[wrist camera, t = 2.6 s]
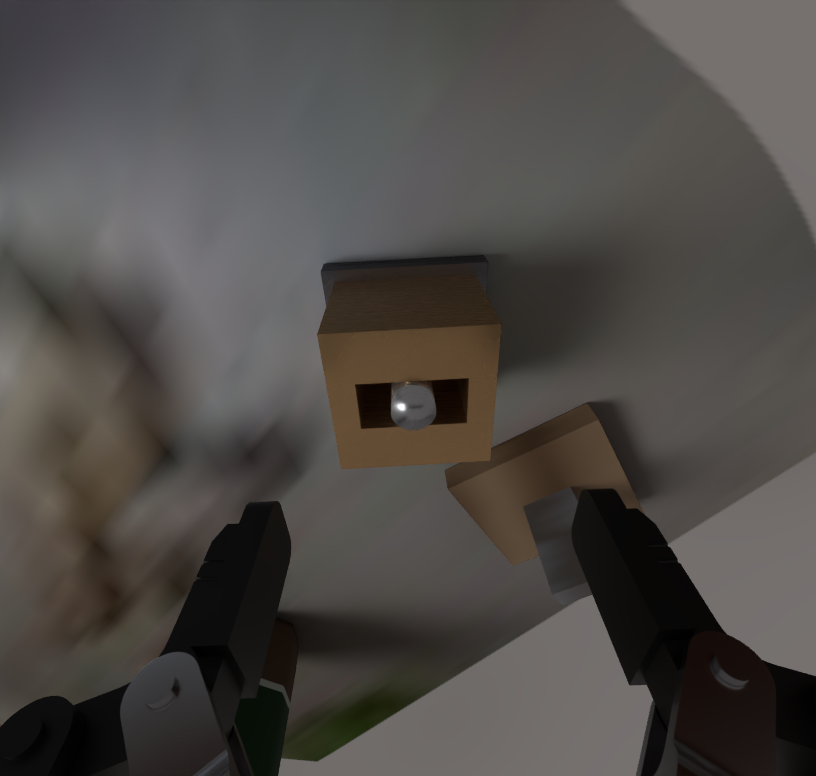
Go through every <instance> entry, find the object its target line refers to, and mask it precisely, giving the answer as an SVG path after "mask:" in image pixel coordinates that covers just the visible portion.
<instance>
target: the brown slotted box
mask: <svg viewBox="0 0 816 776" xmlns="http://www.w3.org/2000/svg"><path fill="white" fill-rule="evenodd" d="M501 328H502V324H501V322H500V320H499V318H498V316H497V314H496V312H495V310H494V308H493V306H492V305H491V303H490V301H489V299H488V297H487V295H486V293H485V291H484V289H483V287H482V286H481V284H480V282H479V280H478V278H477V276H476V275H458V276H440V277H421V278H403V279H385V280H367V281H349V282H334V285H333V288H332V291H331V294H330V297H329V300H328V303H327V306H326V309H325V312H324V315H323V318H322V321H321V324H320V327H319V330H318V333H317V336H318V342H319V347H320V353H321V359H322V364H323V370H324V375H325V381H326V386H327V392H328V397H329V403H330V408H331V414H332V419H333V425H334V431H335V436H336V442H337V447H338V453H339V458H340V464H341V469H353V468H371V467H388V466H406V465H423V464H441V463H458V462H476V461H490V456H491V444H492V433H493V421H494V409H495V398H496V386H497V375H498V363H499V351H500V340H501ZM426 380H432V386H433V392H434V399H435V405H436V416H435V419H434V420H433V422H432V423H431V424H430V425H428V426H427V427H425V428H423V429H420V430H406V429H403V428H401V427H399V426H398V425H397V424H396V423H395V422H394V421H393V419H392V416H391V382H408V381H426Z"/></svg>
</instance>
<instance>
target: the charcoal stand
mask: <svg viewBox="0 0 816 776" xmlns="http://www.w3.org/2000/svg"><path fill="white" fill-rule="evenodd" d="M487 273H488V261H487V260H486V258H485V257H484V255H480V256H462V257H444V258H425V259H407V260H389V261H370V262H352V263H334V264H324V265H323V267H322V269H321V276H322V282H323V289H324V295H325V301H326V306H327V303H328V300H329V297H330V294H331V291H332V288H333V285H334V282H349V281H367V280H385V279H403V278H421V277H440V276H458V275H476V276H477V278H478V280H479V282H480V284H481V286H482V287H483V289H484V291H485V293H486V289H487ZM391 416H392V419H393V421H394V422H395V423H396V424H397V425H398V426H399V427H401V428H403V429H406V430H420V429H423V428H425V427H427V426H428V425H430V424H431V423H432V422H433V420H434V419H435V416H436V405H435V399H434V392H433V386H432V380H426V381H408V382H391Z"/></svg>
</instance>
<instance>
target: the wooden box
mask: <svg viewBox="0 0 816 776" xmlns="http://www.w3.org/2000/svg"><path fill="white" fill-rule="evenodd" d="M445 475H446V481H447V488H448V490H449V491H450V492H451V494H452V495H453V496H454V497H455V498H456V499H457V501H458V502H459V503H460V504H461V505H462V507H463V508H464V509H465V510H466V511H467V512H468V514H469V515H470V516H471V517H472V518H473V519H474V521H475V522H476V523H477V524H478V525H479V527H480V528H481V529H482V530H483V531H484V532H485V534H486V535H487V536H488V537H489V538H490V539H491V541H492V542H493V543H494V544H495V545H496V546H497V548H498V549H499V550H500V551H501V552H502V554H503V555H504V556H505V557H506V558H507V559H508V561H509V562H510V563H511V564H512V565H513V566H514V565H516V564H519V563H522V562H524V561H527V560H529V559H532V558H535V557H537V556H540V559H541V562H542V565H543V568H544V571H545V574H546V577H547V580H548V583H549V586H550V589H551V592H552V595H553V596H554V597H555V598H556V599H557V601H558V602H559V603H560V604H561V605H564V604H567V603H570V602H573V601H575V600H578V599H581V598H584V597H587V596H590V595H592V592H591V590H590V587H589V585H588V582H587V580H586V577H585V575H584V572H583V570H582V568H581V565H580V563H579V560H578V558H577V555H576V553H575V550H574V547H573V543H572V535H571V529H572V524H573V520H574V516H575V512H576V508H577V504H578V500H579V497H580V493H581V491H582V490H584V489H605V488H613V489H614V490H616V491H617V493H618V494H619V496H620V497H621V499H622V501H623V503H624V504H625V506H626V508H627V509H630V508H637V509H639V510H640V511H641V512H642V513H643V514H644V512H643V510H642V508H641V506H640V504H639V502H638V500H637V498H636V496H635V494H634V492H633V490H632V487H631V485H630V483H629V481H628V479H627V477H626V475H625V473H624V471H623V469H622V467H621V465H620V463H619V461H618V459H617V457H616V455H615V452H614V450H613V448H612V446H611V444H610V442H609V440H608V438H607V436H606V434H605V432H604V430H603V428H602V426H601V424H600V422H599V420H598V418H597V417H596V415H595V414H594V412H593V411H592V409H591V408H590V406H589V405H588V403H586V404H584V405H582V406H579V407H577V408H575V409H573V410H571V411H569V412H567V413H565V414H563V415H561V416H558V417H556V418H554V419H552V420H550V421H548V422H546V423H544V424H542V425H540V426H537V427H535V428H533V429H531V430H529V431H527V432H525V433H523V434H521V435H519V436H516V437H514V438H512V439H510V440H508V441H506V442H504V443H502V444H500V445H498V446H495V447H493V448H491V456H490V461H476V462H462V463H460V464H458V465H456V466H453V467H451V468H449V469H447V470H445ZM644 515H645V514H644Z"/></svg>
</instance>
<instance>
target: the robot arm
mask: <svg viewBox="0 0 816 776" xmlns="http://www.w3.org/2000/svg"><path fill="white" fill-rule="evenodd" d="M571 535H572V543H573V547H574V550H575V553H576V555H577V558H578V560H579V563H580V565H581V568H582V570H583V572H584V575H585V577H586V580H587V582H588V585H589V587H590V590H591V592H592V595H593V597H594V599H595V602H596V604H597V607H598V609H599V612H600V614H601V617H602V619H603V622H604V624H605V626H606V629H607V631H608V634H609V636H610V639H611V641H612V644H613V646H614V649H615V651H616V653H617V656H618V658H619V661H620V663H621V666H622V668H623V670H624V673H625V676H626V678H627V681H628V683H629V685H647V686H648V688H649V691H650V693H651V695H652V698H653V701H652V704H651V707H650V712H649V717H648V721H647V726H646V731H645V736H644V740H643V745H642V750H641V754H640V759H639V764H638V768H637V773H636V776H816V676H813V675H809V674H806V673H802V672H798V671H795V670H792V669H788V668H784V667H781V666H777V665H774V664H771V663H768V662H766V661H763V660H761V658H760V657H759V656H758V655H757V654H756V653H755V652H754V651H752V650H751V649H750V648H749V647H748V646H746V645H745V644H743V643H742V642H741V641H739V640H737V639H735V638H734V637H732V636H729V635H727V634H726V633H725V632H724V631H723V629H722V628H721V626H720V625H719V624H718V622H717V621H716V619H715V617H714V616H713V614H712V613H711V611H710V609H709V608H708V606H707V605H706V603H705V602H704V600H703V598H702V597H701V595H700V594H699V592H698V590H697V589H696V587H695V586H694V584H693V583H692V581H691V579H690V578H689V576H688V575H687V573H686V572H685V570H684V569H683V567H682V565H681V564H680V563H678V561H677V557H676V556H675V554H674V553H673V551H672V549H671V548H670V547H668V543H667V542H666V540H665V538H664V537H663V535H662V534H661V532H660V530H659V529H658V527H657V526H656V524H655V523H654V522H652V521H651V520H650V519H649V518H648V517H647V516H645V515H644V514H643V513H642V512H641V511H640V510H639V509H637V508H630V509H627V508H626V506H625V504H624V503H623V501H622V499H621V497H620V496H619V494H618V493H617V491H616V490H614V489H613V488H605V489H584V490H582V491H581V493H580V497H579V500H578V504H577V508H576V512H575V516H574V520H573V524H572V529H571ZM290 556H291V539H290V535H289V531H288V528H287V525H286V521H285V518H284V515H283V511H282V508H281V505H280V503H279V502H278V501H270V502H250V503H248V504H247V506H246V507H245V510H244V512H243V515H242V517H241V520H240V522H239V524H227V525H226V526H225V527H224V529H223V530H222V531H221V532H220V533H219V534H218V535H217V536H216V538H215V539H214V540H213V541H212V543H211V545H210V547H209V549H208V552H207V554H206V556H205V558H204V563H203V565H201V568H200V570H199V572H198V574H197V577H196V581H195V582H194V583H193V586H192V588H191V590H190V592H189V595H188V597H187V599H186V601H185V604H184V606H183V608H182V610H181V613H180V615H179V617H178V619H177V622H176V624H175V626H174V629H173V631H172V633H171V635H170V638H169V640H168V642H167V644H166V646H165V648H164V650H163V651H162V653H161V654H160V656H159V657H158V658H157V659H155V660H153V661H152V662H150V663H149V664H147V665H146V666H145V667H144V668H143V669H142V670H141V671H140V672H139V673H138V674H137V675H136V676H135V677H134V679H133V680H132V681H131V682H130V683H128V684H127V685H125V686H122V687H120V688H118V689H115V690H113V691H110V692H107V693H105V694H102V695H99V696H97V697H94V698H91V699H89V700H86V701H84V702H81V703H78V704H76V705H72V704H71V703H70V702H69V701H68V700H67V699H65V698H63V697H60V696H49V697H44V698H41V699H38V700H36V701H34V702H32V703H30V704H28V705H26V706H25V707H23V708H22V709H20V710H19V711H18V712H16V713H15V714H14V715H12V716H11V717H10V718H9V719H8V720H7V721H6V722H5V723H4V724H3V725H2V726H1V727H0V776H254V774H253V771H252V768H251V765H250V762H249V760H248V757H247V754H246V751H245V749H244V746H243V743H242V740H241V738H240V735H239V732H238V729H237V727H236V724H235V721H234V719H235V716H236V712H237V708H238V705H239V701H240V699H242V698H256V696H257V692H258V687H259V683H260V679H261V675H262V671H263V667H264V663H265V659H266V655H267V651H268V647H269V643H270V639H271V635H272V631H273V627H274V623H275V619H276V615H277V611H278V607H279V603H280V598H281V594H282V590H283V586H284V582H285V578H286V574H287V570H288V566H289V562H290Z"/></svg>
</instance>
